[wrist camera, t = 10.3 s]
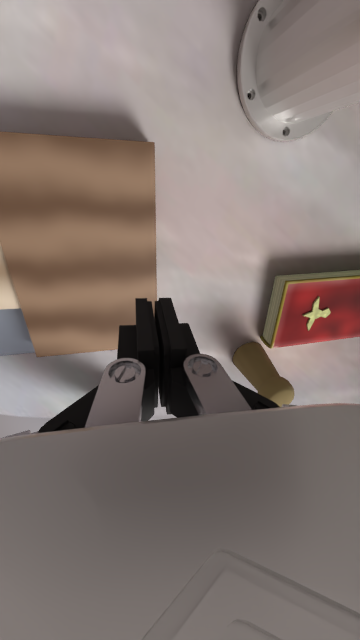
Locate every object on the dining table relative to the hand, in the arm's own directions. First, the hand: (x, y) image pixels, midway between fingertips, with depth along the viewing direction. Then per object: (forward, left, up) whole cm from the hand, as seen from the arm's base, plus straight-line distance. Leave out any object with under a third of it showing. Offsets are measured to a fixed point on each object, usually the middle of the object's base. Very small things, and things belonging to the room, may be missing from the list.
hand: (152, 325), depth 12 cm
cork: (+21, +20, -22) cm, 36 cm away
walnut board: (+3, -5, -22) cm, 23 cm away
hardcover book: (+11, +32, -22) cm, 40 cm away
